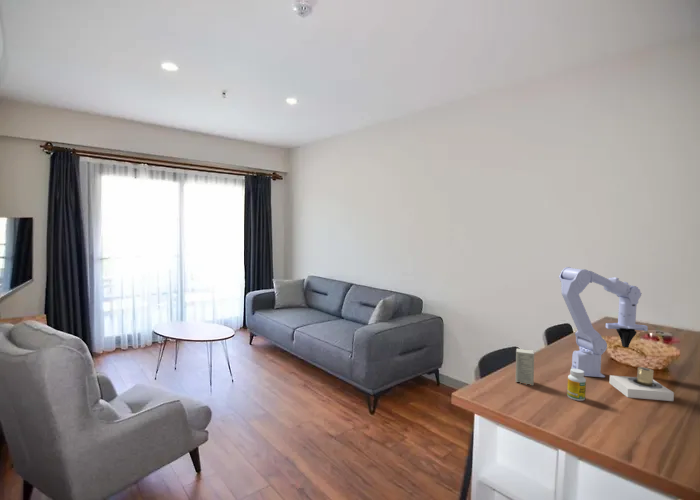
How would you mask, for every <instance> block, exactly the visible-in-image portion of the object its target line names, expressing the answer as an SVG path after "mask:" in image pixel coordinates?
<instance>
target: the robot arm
mask: <svg viewBox="0 0 700 500" xmlns="http://www.w3.org/2000/svg"><path fill="white" fill-rule="evenodd" d="M558 278H559V281H560V282H561V285H560V287H561V296H562V298H563V300H564V302H565V305H566V307H567V309H568V311H569V312H568V313H569V314H570V316H571V318H572V320H573V323H574V325H575V328H576V331H575V333H574V335H575V342H576V345H577V346H578V349H579V350H573V352H572V355H571V356H572V357H571V367H570V370H571V369H580V370H583V371H584V376H583V377H595V378H606V375H604V374H603V373H602V371H601V368H602V355H603V354H604V353H605V352H606V351H607V348H608V344H607V343H608V342H607V341H606V340H605V339H604V338H603V337H602V334H600V333H599V331H597V330H596V329H595V328H594V327H593V324H592V322H591V319H590V317H589V315H588V312H587V311H586V308H585V306H584V303H583V301H582V298H581V296H580V294H581V293H583V291H584V290H585V289H586V288H587V287H588V285H589V284H590V283H594V284H596V285H599V286H602V287H603V289H604V290H605V291H607V292H609V293H611V294H613V295H615V296H616V297H618V299H619V300H618V313H617V322H606V323H605V328H606V329H607V330H610V329H612V330H613V329H614V330H615V331H616V332H617V334H618V335H619V338H620V342H621V346H622V347H623V348H625V349H626V348H627V349H628V348H629V347H630V344H631V342H632V340H633V338H634V337H635V336H636V335H637V331H644V332H648V331H649V329H648V328H649V326H648V325H644V324H636V321H637V320H636V318H637V305H638V304H639V299H640V298H641V296H642V292H641V289H640V288H639V287H638V286H637V285H632V284H629V282H627V281H621V280H620V278H618V277H614V276H613V277H608V278H607V277H605V276H602V275H601V274H598V273H596V272H594V271H592V270H588V269H583V268H574V267H570V266H566V267H564V268H563V269H562V270H561V272H560V274H559V276H558Z"/></svg>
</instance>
